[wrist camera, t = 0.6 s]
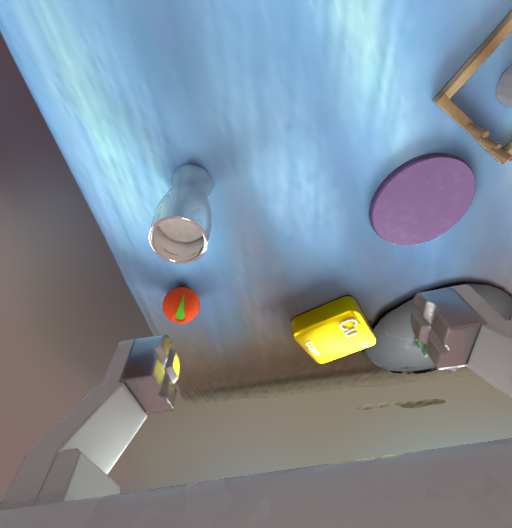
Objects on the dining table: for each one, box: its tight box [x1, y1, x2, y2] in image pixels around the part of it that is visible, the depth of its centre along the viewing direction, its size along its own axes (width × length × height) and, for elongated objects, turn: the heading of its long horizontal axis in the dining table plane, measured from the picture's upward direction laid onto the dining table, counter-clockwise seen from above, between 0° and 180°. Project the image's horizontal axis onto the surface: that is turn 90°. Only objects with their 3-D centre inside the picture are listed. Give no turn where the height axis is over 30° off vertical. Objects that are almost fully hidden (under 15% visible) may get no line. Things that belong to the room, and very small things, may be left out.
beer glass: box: [149, 164, 213, 263], centre depth 40 cm, size 7×7×15 cm
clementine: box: [163, 287, 200, 323], centre depth 57 cm, size 8×7×7 cm
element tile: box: [291, 296, 376, 364], centre depth 68 cm, size 15×15×5 cm
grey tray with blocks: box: [364, 284, 512, 374], centre depth 71 cm, size 35×35×9 cm
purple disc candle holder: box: [369, 153, 475, 245], centre depth 50 cm, size 16×16×1 cm
